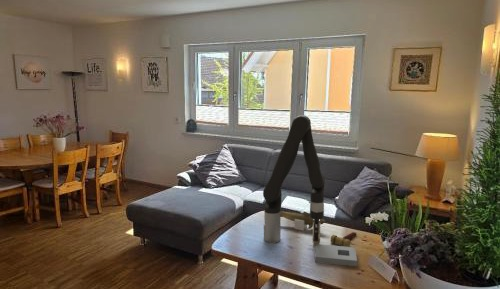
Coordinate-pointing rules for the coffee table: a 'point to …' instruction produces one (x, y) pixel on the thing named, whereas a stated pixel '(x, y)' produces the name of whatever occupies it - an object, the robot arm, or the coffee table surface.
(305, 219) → the wood carving
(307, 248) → the coffee table surface
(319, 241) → the peg
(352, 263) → the board
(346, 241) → the gavel
